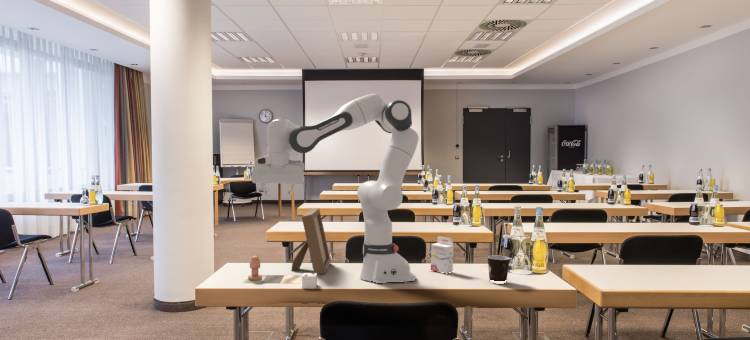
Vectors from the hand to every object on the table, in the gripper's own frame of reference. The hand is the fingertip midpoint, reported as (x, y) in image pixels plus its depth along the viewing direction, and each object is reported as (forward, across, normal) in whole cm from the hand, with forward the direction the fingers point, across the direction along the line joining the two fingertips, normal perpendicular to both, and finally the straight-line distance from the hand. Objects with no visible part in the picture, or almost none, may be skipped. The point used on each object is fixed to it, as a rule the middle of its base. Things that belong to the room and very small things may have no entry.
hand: (277, 195), depth 197 cm
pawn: (+33, +8, +3) cm, 34 cm away
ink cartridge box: (+33, -68, -13) cm, 77 cm away
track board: (+33, +1, +3) cm, 33 cm away
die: (+33, -14, +13) cm, 38 cm away
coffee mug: (+33, -87, +5) cm, 93 cm away
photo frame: (+33, -12, -16) cm, 39 cm away
